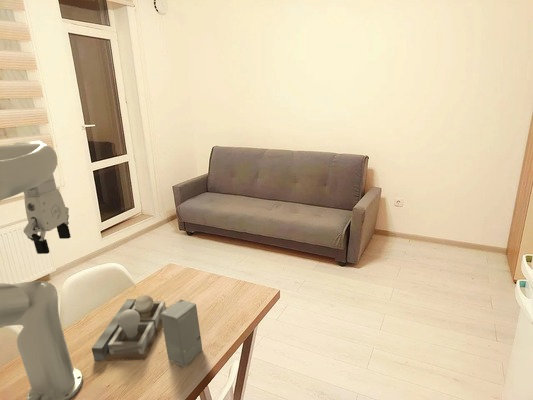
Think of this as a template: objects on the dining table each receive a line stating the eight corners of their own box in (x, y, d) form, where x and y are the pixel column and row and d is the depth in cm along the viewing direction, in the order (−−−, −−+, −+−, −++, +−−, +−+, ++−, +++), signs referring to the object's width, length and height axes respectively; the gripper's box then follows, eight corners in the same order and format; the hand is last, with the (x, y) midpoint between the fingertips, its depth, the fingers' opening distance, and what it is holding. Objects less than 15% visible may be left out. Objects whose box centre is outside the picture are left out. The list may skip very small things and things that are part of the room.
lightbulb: (131, 351, 100) (124, 320, 97) (118, 344, 103) (112, 313, 100) (148, 339, 105) (142, 308, 102) (135, 332, 108) (130, 302, 105)
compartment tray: (145, 360, 98) (139, 331, 95) (94, 360, 99) (87, 332, 96) (170, 309, 121) (166, 285, 118) (129, 309, 121) (124, 285, 118)
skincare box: (184, 368, 94) (177, 320, 89) (166, 360, 98) (158, 313, 93) (204, 348, 101) (198, 303, 96) (186, 341, 104) (179, 297, 100)
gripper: (30, 196, 83) (47, 259, 88) (72, 179, 99) (84, 232, 104) (1, 197, 83) (20, 260, 88) (47, 179, 99) (60, 233, 105)
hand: (54, 245), depth 96 cm, fingers open, 9 cm apart
